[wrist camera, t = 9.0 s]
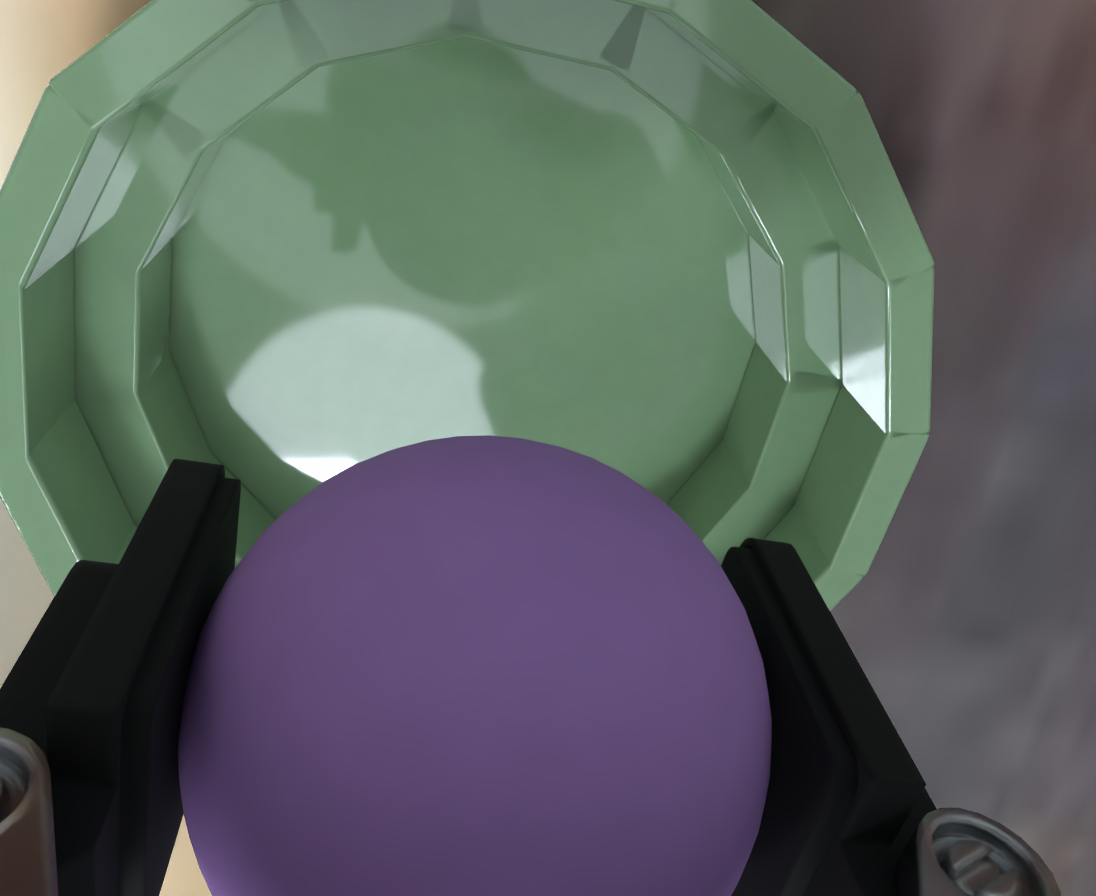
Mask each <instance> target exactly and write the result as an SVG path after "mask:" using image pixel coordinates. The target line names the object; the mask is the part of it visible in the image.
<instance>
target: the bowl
mask: <svg viewBox="0 0 1096 896" xmlns="http://www.w3.org/2000/svg"><path fill="white" fill-rule="evenodd" d="M49 84H50V85H49V86H48V87H46V88H45V90H44V92H43V94H42V97H41V99H40V101H39V103H38V106H37V108H36V110H35V112H34V115H33V117H32V119H31V122H30V124H29V126H28V128H27V131H26V133H25V135H24V137H23V140H22V142H21V144H20V147H19V149H18V151H17V153H16V156H15V158H14V160H13V162H12V165H11V167H10V169H9V172H8V174H7V176H6V178H5V181H4V183H3V185H2V187H1V190H0V498H1V500H2V502H3V503H4V505H5V507H6V509H7V511H8V513H9V514H10V516H11V518H12V520H13V522H14V524H15V525H16V527H17V529H18V531H19V533H20V535H21V536H22V538H23V540H24V542H25V544H26V545H27V547H28V549H29V551H30V553H31V555H32V556H33V558H34V560H35V562H36V564H37V566H38V567H39V569H40V571H41V573H42V575H43V577H44V578H45V580H46V582H47V584H48V586H49V588H50V589H51V591H52V593H53V595H54V597H55V595H56V593H57V592H58V590H59V588H60V587H61V585H62V583H63V582H64V580H65V578H66V576H67V575H68V573H69V571H70V570H71V569H72V567H73V566H74V565H75V563H76V562H78V561H80V560H89V561H98V562H106V563H115V564H119V563H120V561H121V559H122V557H123V555H124V553H125V551H126V549H127V547H128V545H129V543H130V541H131V539H132V537H133V536H134V534H135V532H136V530H137V528H138V526H139V524H140V522H141V520H142V518H143V516H144V514H145V512H146V510H147V509H148V507H149V505H150V503H151V501H152V499H153V497H154V495H155V493H156V491H157V489H158V487H159V485H160V483H161V481H162V480H163V478H164V476H165V474H166V472H167V470H168V468H169V466H170V464H171V462H172V461H173V460H174V459H183V460H190V461H198V462H205V463H212V464H219V465H224V468H225V478H232V479H239V480H240V481H241V494H240V507H239V519H238V532H237V544H236V557H235V568H236V567H237V565H238V564H239V563H240V561H241V560H242V559H243V557H244V556H245V555H246V553H247V552H248V551H249V549H250V548H251V547H252V546H253V544H254V543H255V542H256V540H257V539H258V538H259V536H260V535H261V534H262V533H263V532H264V531H265V530H266V529H267V528H268V527H269V526H270V525H271V524H272V523H273V522H274V521H275V520H276V519H277V518H278V517H280V516H281V515H282V514H283V513H284V512H285V511H286V510H287V509H288V508H290V507H291V506H292V505H293V504H294V503H296V502H297V501H298V500H299V499H301V498H302V497H303V496H305V495H306V494H308V493H309V492H310V491H312V490H313V489H314V488H316V487H317V486H319V485H320V484H321V483H323V482H324V481H325V480H327V479H329V478H331V477H333V476H334V475H336V474H338V473H340V472H342V471H344V470H345V469H347V468H349V467H351V466H353V465H355V464H357V463H359V462H362V461H364V460H367V459H369V458H372V457H375V456H377V455H380V454H382V453H385V452H387V451H390V450H393V449H396V448H400V447H404V446H408V445H412V444H416V443H419V442H423V441H428V440H435V439H442V438H449V437H456V436H487V435H491V436H502V437H513V438H522V439H527V440H532V441H537V442H541V443H546V444H551V445H555V446H559V447H562V448H565V449H568V450H571V451H574V452H577V453H580V454H583V455H586V456H589V457H592V458H594V459H596V460H598V461H600V462H602V463H604V464H606V465H608V466H610V467H612V468H614V469H616V470H618V471H620V472H622V473H623V474H625V475H626V476H628V477H629V478H631V479H632V480H634V481H635V482H637V483H638V484H640V485H641V486H643V487H644V488H645V489H647V490H648V491H650V492H651V493H653V494H654V495H656V496H657V497H658V498H660V499H661V500H662V501H663V502H664V503H666V504H667V505H668V506H669V507H670V508H671V509H672V510H673V511H674V512H676V513H677V514H678V515H679V516H680V517H681V518H682V519H683V520H684V521H685V522H686V523H687V524H688V525H689V527H690V528H691V529H692V530H693V531H694V532H695V533H696V535H697V536H698V537H699V538H700V539H701V541H702V542H703V543H704V544H705V546H706V547H707V548H708V549H709V550H710V552H711V553H712V554H713V555H714V557H715V558H716V559H717V560H718V562H719V564H720V565H722V562H723V560H724V557H725V555H726V553H727V551H728V550H729V549H730V548H731V547H740V545H741V544H742V542H743V541H744V540H745V539H747V538H756V539H763V540H770V541H777V542H784V543H789V544H792V546H793V547H794V548H795V549H796V551H797V553H798V555H799V557H800V558H801V560H802V562H803V564H804V566H805V567H806V569H807V571H808V573H809V575H810V576H811V578H812V580H813V582H814V584H815V585H816V587H817V589H818V591H819V593H820V594H821V596H822V598H823V600H824V602H825V603H826V605H827V607H828V609H829V611H831V610H832V609H833V608H834V607H835V606H836V605H837V604H838V603H839V602H840V601H841V600H842V599H843V598H844V597H845V596H846V595H847V594H848V593H849V592H850V591H851V590H852V589H853V588H854V587H855V586H856V585H857V584H858V583H859V582H860V581H861V580H862V578H863V576H866V575H867V573H868V570H869V568H870V566H871V564H872V562H873V559H874V557H875V555H876V553H877V551H878V548H879V546H880V544H881V542H882V540H883V537H884V535H885V533H886V531H887V529H888V526H889V524H890V522H891V520H892V518H893V515H894V513H895V511H896V509H897V507H898V504H899V502H900V500H901V498H902V496H903V494H904V491H905V489H906V487H907V485H908V483H909V480H910V478H911V476H912V474H913V472H914V469H915V467H916V465H917V463H918V461H919V458H920V456H921V454H922V452H923V450H924V447H925V445H926V443H927V441H928V439H929V433H928V432H929V431H930V415H931V377H932V340H933V302H934V267H933V265H934V260H933V257H932V255H931V253H930V251H929V248H928V246H927V244H926V242H925V239H924V237H923V235H922V232H921V230H920V228H919V226H918V223H917V221H916V219H915V216H914V214H913V212H912V210H911V207H910V205H909V203H908V200H907V198H906V196H905V194H904V191H903V189H902V187H901V184H900V182H899V180H898V178H897V175H896V173H895V171H894V168H893V166H892V164H891V162H890V159H889V157H888V155H887V152H886V150H885V148H884V146H883V143H882V141H881V139H880V136H879V134H878V132H877V130H876V127H875V125H874V123H873V121H872V118H871V116H870V114H869V111H868V109H867V107H866V105H865V102H864V100H863V98H862V95H861V94H860V93H859V92H857V91H856V89H855V87H854V86H853V85H852V84H850V83H849V82H848V81H847V80H846V79H845V78H843V77H842V76H841V75H840V74H839V73H837V72H836V71H835V70H834V69H833V68H832V67H830V66H829V65H828V64H827V63H826V62H824V61H823V60H822V59H821V58H820V57H819V56H817V55H816V54H815V53H814V52H813V51H811V50H810V49H809V48H808V47H807V46H806V45H804V44H803V43H802V42H801V41H800V40H798V39H797V38H796V37H795V36H794V35H793V34H791V33H790V32H789V31H788V30H787V29H786V28H784V27H783V26H782V25H781V24H780V23H778V22H777V21H776V20H775V19H774V18H773V17H771V16H770V15H769V14H768V13H767V12H765V11H764V10H763V9H762V8H761V7H760V6H758V5H757V4H756V3H755V2H754V1H752V0H151V1H150V2H148V3H147V4H146V5H144V6H143V7H142V8H141V9H139V10H138V11H137V12H136V13H134V14H133V15H132V16H131V17H129V18H128V19H127V20H125V21H124V22H123V23H122V24H120V25H119V26H118V27H117V28H115V29H114V30H113V31H112V32H110V33H109V34H108V35H106V36H105V37H104V38H103V39H101V40H100V41H99V42H98V43H96V44H95V45H94V46H93V47H91V48H90V49H89V50H87V51H86V52H85V53H84V54H82V55H81V56H80V57H79V58H77V59H76V60H75V61H73V62H72V63H71V64H70V65H68V66H67V67H66V68H65V69H63V70H62V71H61V72H60V73H58V74H57V75H56V76H54V77H53V78H52V79H51V80H50V82H49Z"/></svg>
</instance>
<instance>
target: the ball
mask: <svg viewBox="0 0 1096 896" xmlns="http://www.w3.org/2000/svg"><path fill="white" fill-rule="evenodd" d="M771 741H772V717H771V709H770V702H769V695H768V688H767V682H766V676H765V670H764V664H763V660H762V657H761V654H760V651H759V648H758V645H757V642H756V639H755V636H754V633H753V630H752V627H751V625H750V622H749V619H748V616H747V614H746V611H745V608H744V606H743V605H742V603H741V601H740V599H739V597H738V595H737V594H736V592H735V590H734V588H733V586H732V585H731V583H730V581H729V579H728V578H727V576H726V574H725V572H724V571H723V569H722V567H721V565H720V564H719V562H718V560H717V559H716V558H715V557H714V555H713V554H712V553H711V552H710V550H709V549H708V548H707V547H706V546H705V544H704V543H703V542H702V541H701V539H700V538H699V537H698V536H697V535H696V533H695V532H694V531H693V530H692V529H691V528H690V527H689V525H688V524H687V523H686V522H685V521H684V520H683V519H682V518H681V517H680V516H679V515H678V514H677V513H676V512H674V511H673V510H672V509H671V508H670V507H669V506H668V505H667V504H666V503H664V502H663V501H662V500H661V499H660V498H658V497H657V496H656V495H654V494H653V493H651V492H650V491H648V490H647V489H645V488H644V487H643V486H641V485H640V484H638V483H637V482H635V481H634V480H632V479H631V478H629V477H628V476H626V475H625V474H623V473H622V472H620V471H618V470H616V469H614V468H612V467H610V466H608V465H606V464H604V463H602V462H600V461H598V460H596V459H594V458H592V457H589V456H586V455H583V454H580V453H577V452H574V451H571V450H568V449H565V448H562V447H559V446H555V445H551V444H546V443H541V442H537V441H532V440H527V439H522V438H513V437H502V436H491V435H487V436H456V437H449V438H442V439H435V440H428V441H423V442H419V443H416V444H412V445H408V446H404V447H400V448H396V449H393V450H390V451H387V452H385V453H382V454H380V455H377V456H375V457H372V458H369V459H367V460H364V461H362V462H359V463H357V464H355V465H353V466H351V467H349V468H347V469H345V470H344V471H342V472H340V473H338V474H336V475H334V476H333V477H331V478H329V479H327V480H325V481H324V482H323V483H321V484H320V485H319V486H317V487H316V488H314V489H313V490H312V491H310V492H309V493H308V494H306V495H305V496H303V497H302V498H301V499H299V500H298V501H297V502H296V503H294V504H293V505H292V506H291V507H290V508H288V509H287V510H286V511H285V512H284V513H283V514H282V515H281V516H280V517H278V518H277V519H276V520H275V521H274V522H273V523H272V524H271V525H270V526H269V527H268V528H267V529H266V530H265V531H264V532H263V533H262V534H261V535H260V536H259V538H258V539H257V540H256V542H255V543H254V544H253V546H252V547H251V548H250V549H249V551H248V552H247V553H246V555H245V556H244V557H243V559H242V560H241V561H240V563H239V564H238V565H237V567H236V568H235V569H234V571H233V572H232V573H231V574H230V576H229V577H228V578H227V580H226V582H225V584H224V586H223V588H222V590H221V591H220V593H219V595H218V597H217V599H216V601H215V602H214V604H213V606H212V608H211V610H210V613H209V615H208V617H207V619H206V621H205V623H204V625H203V627H202V630H201V632H200V635H199V638H198V642H197V645H196V649H195V653H194V656H193V660H192V664H191V667H190V671H189V675H188V680H187V685H186V690H185V695H184V700H183V707H182V715H181V723H180V731H179V739H178V768H179V783H180V790H181V798H182V806H183V812H184V816H185V820H186V825H187V829H188V833H189V837H190V840H191V843H192V846H193V849H194V852H195V855H196V858H197V861H198V864H199V867H200V870H201V872H202V874H203V876H204V879H205V881H206V883H207V885H208V888H209V890H210V892H211V894H212V896H731V895H732V893H733V891H734V890H735V888H736V886H737V884H738V882H739V880H740V877H741V875H742V873H743V870H744V868H745V865H746V863H747V861H748V858H749V856H750V853H751V851H752V848H753V845H754V843H755V840H756V837H757V835H758V832H759V827H760V823H761V819H762V814H763V810H764V805H765V800H766V795H767V790H768V785H769V779H770V768H771Z"/></svg>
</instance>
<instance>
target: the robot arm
mask: <svg viewBox="0 0 1096 896" xmlns="http://www.w3.org/2000/svg"><path fill="white" fill-rule="evenodd" d="M240 494H241V481H240V480H239V479H232V478H225V468H224V465H219V464H212V463H205V462H198V461H190V460H183V459H174V460H173V461H172V462H171V464H170V466H169V468H168V470H167V472H166V474H165V476H164V478H163V480H162V481H161V483H160V485H159V487H158V489H157V491H156V493H155V495H154V497H153V499H152V501H151V503H150V505H149V507H148V509H147V510H146V512H145V514H144V516H143V518H142V520H141V522H140V524H139V526H138V528H137V530H136V532H135V534H134V536H133V537H132V539H131V541H130V543H129V545H128V547H127V549H126V551H125V553H124V555H123V557H122V559H121V561H120V563H119V564H115V563H106V562H98V561H89V560H80V561H78V562H76V563H75V565H74V566H73V567H72V569H71V570H70V571H69V573H68V575H67V576H66V578H65V580H64V582H63V583H62V585H61V587H60V588H59V590H58V592H57V593H56V595H55V597H54V599H53V600H52V602H51V604H50V605H49V607H48V609H47V610H46V612H45V614H44V616H43V617H42V619H41V621H40V622H39V624H38V626H37V627H36V629H35V631H34V633H33V634H32V636H31V638H30V639H29V641H28V643H27V644H26V646H25V648H24V650H23V651H22V653H21V655H20V656H19V658H18V660H17V661H16V663H15V665H14V667H13V668H12V670H11V672H10V673H9V675H8V677H7V678H6V680H5V682H4V684H3V685H2V687H1V689H0V896H159V894H160V890H161V887H162V884H163V880H164V877H165V874H166V870H167V867H168V864H169V860H170V857H171V854H172V850H173V847H174V844H175V840H176V837H177V834H178V830H179V827H180V823H181V820H182V817H183V813H184V812H183V806H182V798H181V790H180V783H179V768H178V739H179V731H180V723H181V715H182V707H183V700H184V695H185V690H186V685H187V680H188V675H189V671H190V667H191V664H192V660H193V656H194V653H195V649H196V645H197V642H198V638H199V635H200V632H201V630H202V627H203V625H204V623H205V621H206V619H207V617H208V615H209V613H210V610H211V608H212V606H213V604H214V602H215V601H216V599H217V597H218V595H219V593H220V591H221V590H222V588H223V586H224V584H225V582H226V580H227V578H228V577H229V576H230V574H231V573H232V572H233V571H234V569H235V557H236V544H237V532H238V519H239V507H240ZM721 567H722V569H723V571H724V572H725V574H726V576H727V578H728V579H729V581H730V583H731V585H732V586H733V588H734V590H735V592H736V594H737V595H738V597H739V599H740V601H741V603H742V605H743V606H744V608H745V611H746V614H747V616H748V619H749V622H750V625H751V627H752V630H753V633H754V636H755V639H756V642H757V645H758V648H759V651H760V654H761V657H762V660H763V664H764V670H765V676H766V682H767V688H768V695H769V702H770V709H771V717H772V741H771V768H770V779H769V785H768V790H767V795H766V800H765V805H764V810H763V814H762V819H761V823H760V827H759V832H758V835H757V837H756V840H755V843H754V845H753V848H752V851H751V853H750V856H749V858H748V861H747V863H746V865H745V868H744V870H743V873H742V875H741V877H740V880H739V882H738V884H737V886H736V888H735V890H734V891H733V893H732V895H731V896H1061V893H1060V890H1059V888H1058V886H1057V883H1056V881H1055V879H1054V876H1053V874H1052V873H1051V871H1050V870H1049V868H1048V867H1047V866H1046V864H1045V863H1044V862H1043V860H1042V859H1041V857H1040V856H1039V855H1038V854H1037V853H1036V852H1035V851H1034V850H1033V849H1032V848H1031V847H1030V846H1029V845H1028V844H1027V843H1026V842H1025V841H1024V840H1023V839H1022V838H1021V837H1019V836H1018V835H1016V834H1015V833H1013V832H1012V831H1010V830H1009V829H1008V828H1006V827H1005V826H1003V825H1002V824H1000V823H998V822H996V821H994V820H992V819H990V818H988V817H986V816H984V815H981V814H979V813H976V812H972V811H968V810H965V809H961V808H939V809H936V807H935V806H934V804H933V802H932V800H931V798H930V797H929V795H928V793H927V791H926V789H925V785H926V783H925V782H924V780H923V778H922V776H921V774H920V773H919V771H918V769H917V767H916V765H915V764H914V762H913V760H912V758H911V756H910V755H909V753H908V751H907V749H906V747H905V746H904V744H903V742H902V740H901V738H900V737H899V735H898V733H897V731H896V729H895V728H894V726H893V724H892V722H891V720H890V719H889V717H888V715H887V713H886V711H885V710H884V708H883V706H882V704H881V702H880V701H879V699H878V697H877V695H876V693H875V692H874V690H873V688H872V686H871V684H870V683H869V681H868V679H867V677H866V675H865V674H864V672H863V670H862V668H861V666H860V665H859V663H858V661H857V659H856V657H855V656H854V654H853V652H852V650H851V648H850V647H849V645H848V643H847V641H846V639H845V638H844V636H843V634H842V632H841V630H840V629H839V627H838V625H837V623H836V621H835V620H834V618H833V616H832V614H831V612H830V611H829V609H828V607H827V605H826V603H825V602H824V600H823V598H822V596H821V594H820V593H819V591H818V589H817V587H816V585H815V584H814V582H813V580H812V578H811V576H810V575H809V573H808V571H807V569H806V567H805V566H804V564H803V562H802V560H801V558H800V557H799V555H798V553H797V551H796V549H795V548H794V547H793V546H792V544H789V543H784V542H777V541H770V540H763V539H756V538H747V539H745V540H744V541H743V542H742V544H741V545H740V547H731V548H730V549H729V550H728V551H727V553H726V555H725V557H724V560H723V562H722V565H721Z"/></svg>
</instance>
